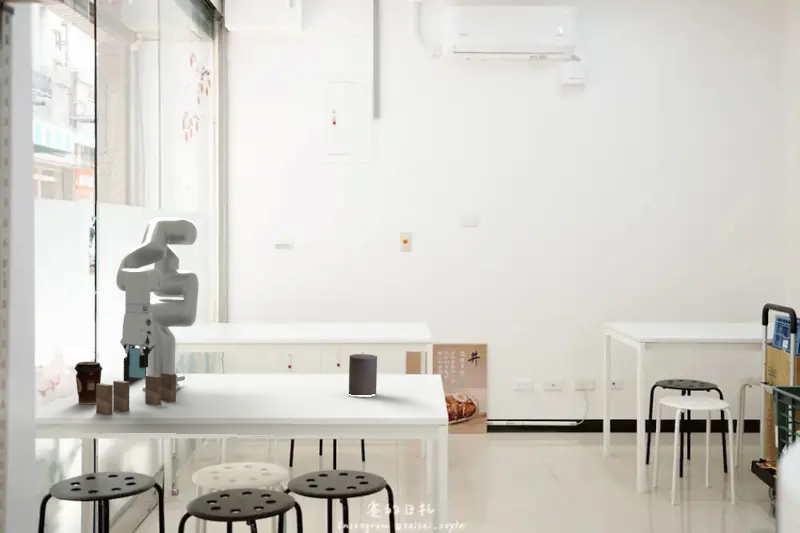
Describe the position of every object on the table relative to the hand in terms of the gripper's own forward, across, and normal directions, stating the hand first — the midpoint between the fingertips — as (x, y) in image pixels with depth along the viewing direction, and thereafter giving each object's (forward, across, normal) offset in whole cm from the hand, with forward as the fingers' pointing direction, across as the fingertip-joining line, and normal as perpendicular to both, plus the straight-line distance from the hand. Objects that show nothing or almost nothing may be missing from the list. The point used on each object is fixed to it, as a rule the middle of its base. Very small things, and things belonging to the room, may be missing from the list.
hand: (137, 366), depth 281 cm
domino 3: (+13, 0, -7) cm, 15 cm away
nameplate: (+13, +39, -34) cm, 54 cm away
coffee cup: (+13, +18, +4) cm, 23 cm away
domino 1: (+13, 0, +6) cm, 14 cm away
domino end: (+13, 0, -13) cm, 19 cm away
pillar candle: (+13, -46, -59) cm, 76 cm away
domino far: (+13, 0, +13) cm, 18 cm away
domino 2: (+3, 0, 0) cm, 3 cm away
